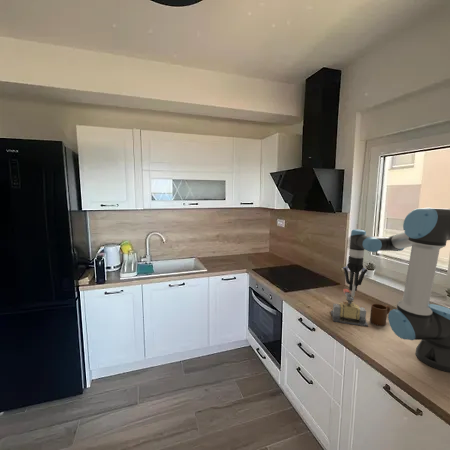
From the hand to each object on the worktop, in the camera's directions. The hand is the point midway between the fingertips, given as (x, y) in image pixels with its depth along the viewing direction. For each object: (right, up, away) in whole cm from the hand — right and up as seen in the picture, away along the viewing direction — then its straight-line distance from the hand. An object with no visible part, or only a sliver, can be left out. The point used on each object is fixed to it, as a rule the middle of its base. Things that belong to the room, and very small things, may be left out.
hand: (352, 295), depth 150 cm
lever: (-3, 0, -2) cm, 4 cm away
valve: (-5, -11, -6) cm, 14 cm away
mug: (+11, -12, -9) cm, 19 cm away
